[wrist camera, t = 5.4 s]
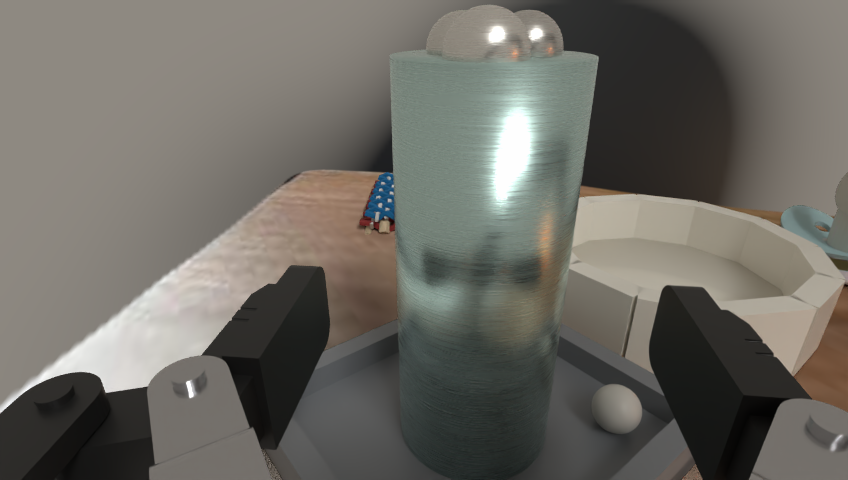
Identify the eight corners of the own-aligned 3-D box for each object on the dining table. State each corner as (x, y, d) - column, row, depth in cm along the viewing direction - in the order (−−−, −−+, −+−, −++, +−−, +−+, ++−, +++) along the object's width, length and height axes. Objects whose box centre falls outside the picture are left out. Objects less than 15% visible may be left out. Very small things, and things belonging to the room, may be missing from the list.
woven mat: (375, 191, 43) (374, 169, 42) (495, 192, 43) (497, 169, 42) (356, 242, 33) (354, 214, 33) (511, 243, 33) (513, 215, 32)
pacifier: (841, 303, 26) (931, 287, 27) (885, 192, 23) (983, 179, 24) (734, 244, 32) (810, 234, 33) (759, 152, 30) (841, 144, 31)
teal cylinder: (474, 356, 20) (492, 6, 15) (576, 429, 17) (650, 4, 11) (373, 412, 17) (347, 5, 12) (469, 514, 14) (497, 2, 8)
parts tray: (483, 311, 25) (485, 266, 24) (707, 450, 17) (727, 392, 16) (249, 424, 18) (237, 369, 17) (443, 744, 10) (445, 677, 9)
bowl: (617, 229, 34) (625, 181, 32) (849, 310, 25) (876, 248, 23) (483, 290, 27) (486, 231, 25) (741, 437, 17) (770, 358, 16)
